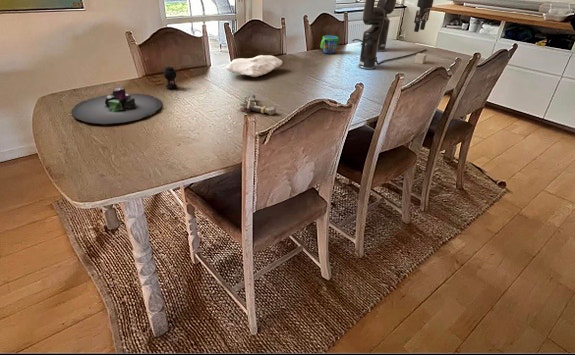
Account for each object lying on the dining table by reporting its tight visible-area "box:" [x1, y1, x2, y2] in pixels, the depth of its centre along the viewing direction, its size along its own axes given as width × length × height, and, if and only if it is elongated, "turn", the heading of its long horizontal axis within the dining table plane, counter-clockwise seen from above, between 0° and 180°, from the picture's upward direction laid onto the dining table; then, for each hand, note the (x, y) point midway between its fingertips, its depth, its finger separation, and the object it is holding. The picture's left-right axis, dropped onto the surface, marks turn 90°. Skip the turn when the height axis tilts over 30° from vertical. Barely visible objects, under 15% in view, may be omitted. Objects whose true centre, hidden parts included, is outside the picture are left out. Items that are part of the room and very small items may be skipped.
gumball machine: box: [161, 66, 179, 90], centre depth 173 cm, size 7×6×10 cm
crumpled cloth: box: [225, 54, 283, 78], centre depth 198 cm, size 24×35×9 cm
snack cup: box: [319, 34, 340, 55], centre depth 242 cm, size 16×10×10 cm
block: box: [414, 52, 427, 65], centre depth 231 cm, size 5×5×5 cm
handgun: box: [239, 93, 277, 116], centre depth 158 cm, size 3×18×15 cm
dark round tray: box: [70, 86, 163, 125], centre depth 150 cm, size 35×35×9 cm
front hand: (419, 30), depth 194 cm, fingers open, 8 cm apart
